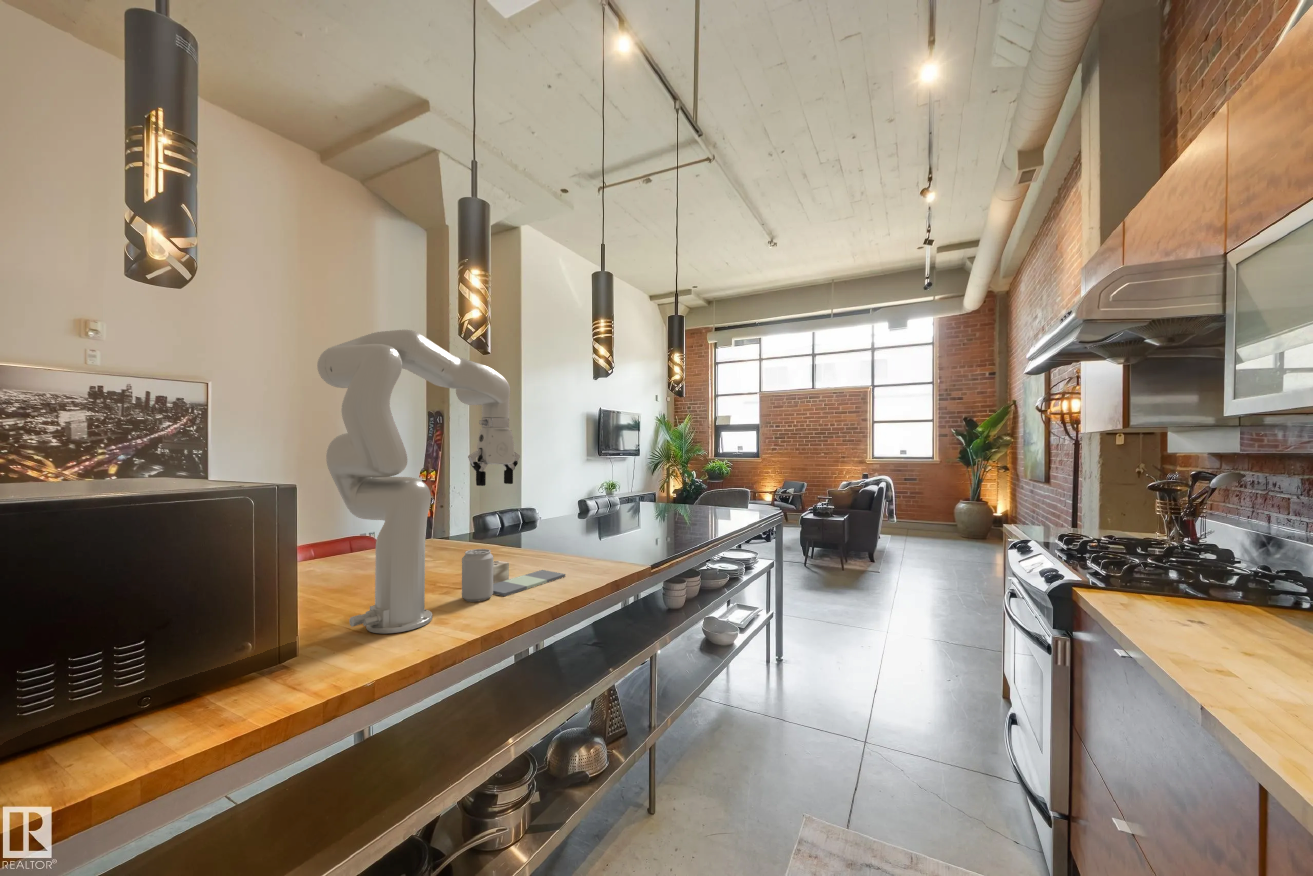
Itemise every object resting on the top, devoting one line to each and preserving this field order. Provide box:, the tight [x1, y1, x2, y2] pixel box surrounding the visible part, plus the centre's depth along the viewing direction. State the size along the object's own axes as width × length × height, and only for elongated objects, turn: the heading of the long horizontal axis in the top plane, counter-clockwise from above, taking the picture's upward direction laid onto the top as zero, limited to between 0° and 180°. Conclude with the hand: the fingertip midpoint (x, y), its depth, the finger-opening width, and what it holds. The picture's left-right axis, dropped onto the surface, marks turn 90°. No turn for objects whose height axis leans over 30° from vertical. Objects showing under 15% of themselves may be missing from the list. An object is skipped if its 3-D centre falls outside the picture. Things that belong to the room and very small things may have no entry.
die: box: [493, 560, 510, 584], centre depth 138 cm, size 5×5×5 cm
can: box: [461, 548, 494, 603], centre depth 122 cm, size 8×8×12 cm
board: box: [492, 569, 566, 597], centre depth 135 cm, size 22×10×1 cm, turn 148°
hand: (495, 484), depth 137 cm, fingers open, 9 cm apart
